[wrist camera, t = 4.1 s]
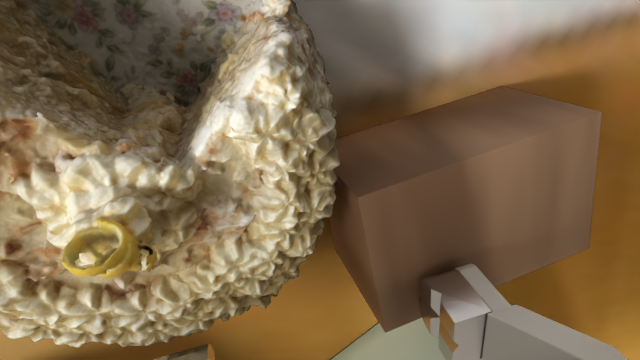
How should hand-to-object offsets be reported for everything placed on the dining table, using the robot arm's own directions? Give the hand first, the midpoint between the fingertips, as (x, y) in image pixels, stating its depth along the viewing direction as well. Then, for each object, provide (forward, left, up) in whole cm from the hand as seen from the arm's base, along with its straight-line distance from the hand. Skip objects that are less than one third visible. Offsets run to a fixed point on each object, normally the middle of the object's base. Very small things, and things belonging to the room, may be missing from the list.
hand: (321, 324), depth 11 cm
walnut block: (+2, 0, -2) cm, 3 cm away
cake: (0, +6, -4) cm, 7 cm away
